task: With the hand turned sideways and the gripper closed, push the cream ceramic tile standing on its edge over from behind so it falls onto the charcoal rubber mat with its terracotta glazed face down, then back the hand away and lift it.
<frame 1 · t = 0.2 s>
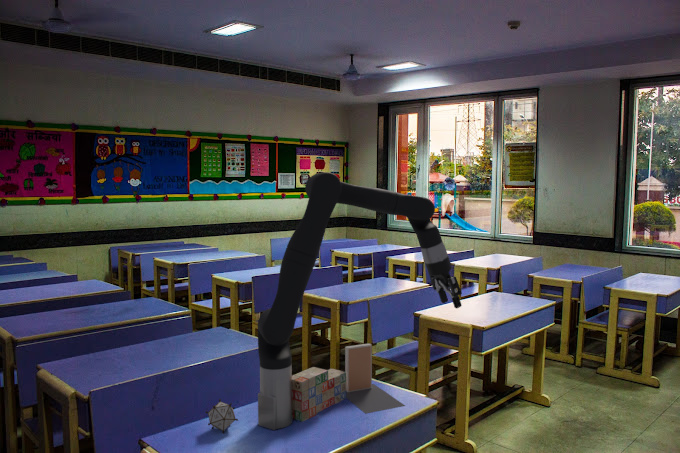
hand: (451, 304, 173), 31 cm above the table, tool tilted 20°, fingers open, 8 cm apart
mat: (369, 399, 176), on the table
game die: (221, 430, 155), on the table
tile: (358, 389, 184), resting on mat
stack of blocks: (317, 408, 170), on the table
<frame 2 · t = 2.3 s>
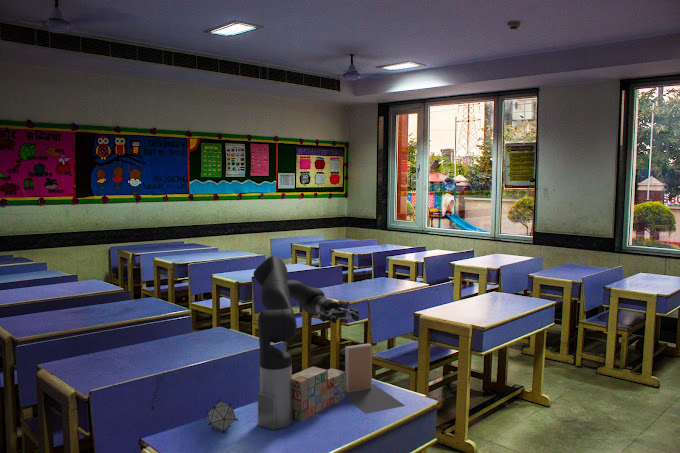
hand: (346, 319, 192), 22 cm above the table, tool horizontal, fingers open, 8 cm apart
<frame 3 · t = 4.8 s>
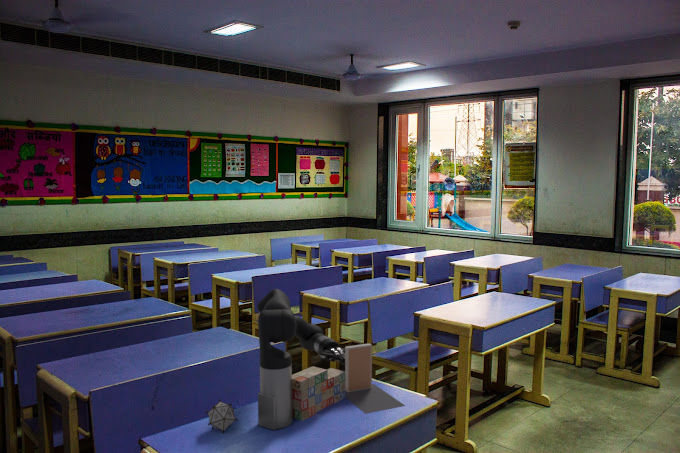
hand: (346, 360, 192), 7 cm above the table, tool horizontal, fingers closed
nothing on the table moved.
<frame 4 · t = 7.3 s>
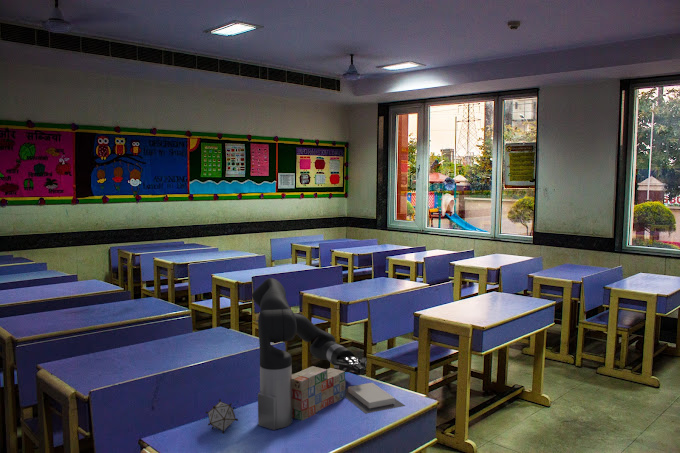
hand: (361, 371, 181), 8 cm above the table, tool horizontal, fingers closed
tile: (360, 387, 182), point 2 cm above the table, tilted 90°, touching mat
everything else where it was.
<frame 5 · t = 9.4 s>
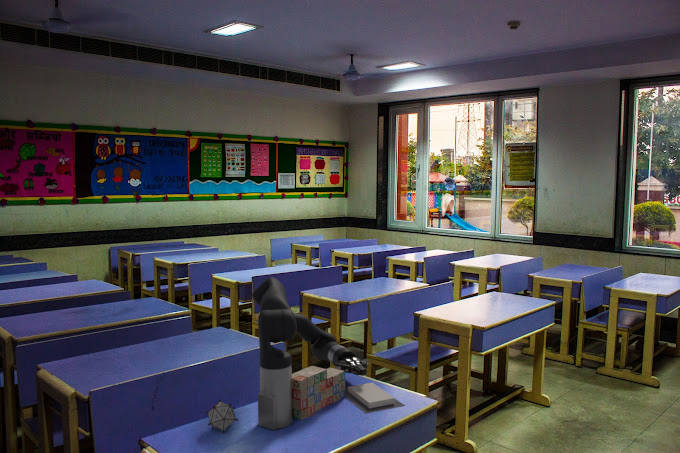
hand: (363, 372, 180), 7 cm above the table, tool horizontal, fingers closed
stack of blocks: (316, 407, 171), on the table, touching mat
everything else where it was.
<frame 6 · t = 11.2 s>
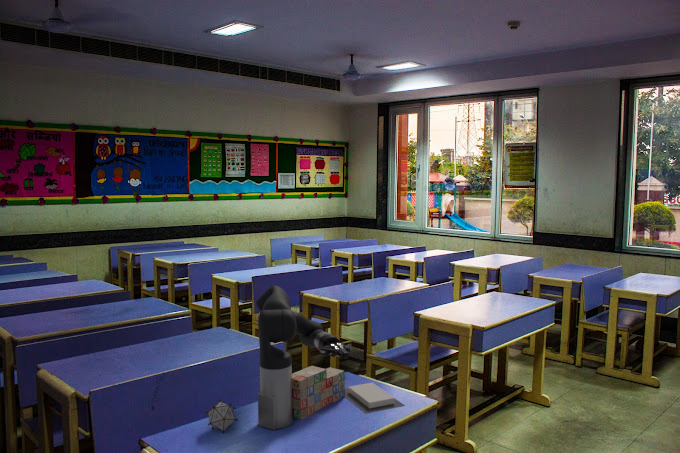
hand: (346, 355, 192), 9 cm above the table, tool horizontal, fingers closed
stack of blocks: (316, 407, 171), on the table
everything else where it was.
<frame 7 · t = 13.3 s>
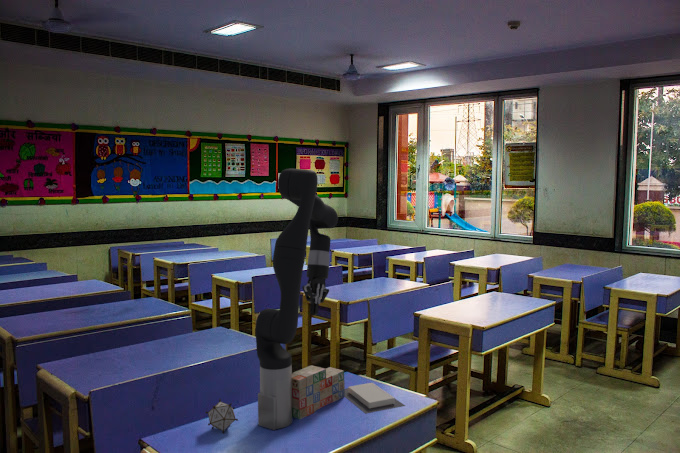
hand: (313, 314, 187), 25 cm above the table, tool pointing down, fingers closed
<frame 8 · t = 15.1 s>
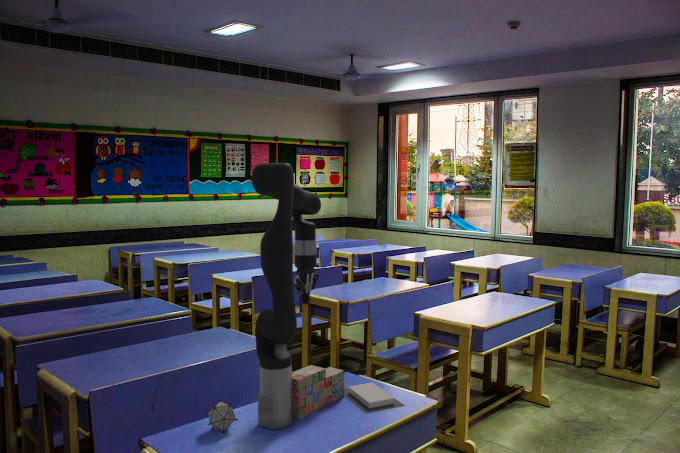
hand: (305, 303, 186), 29 cm above the table, tool pointing down, fingers closed
nothing on the table moved.
at the end: tile tilted 90°; tile touching mat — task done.
